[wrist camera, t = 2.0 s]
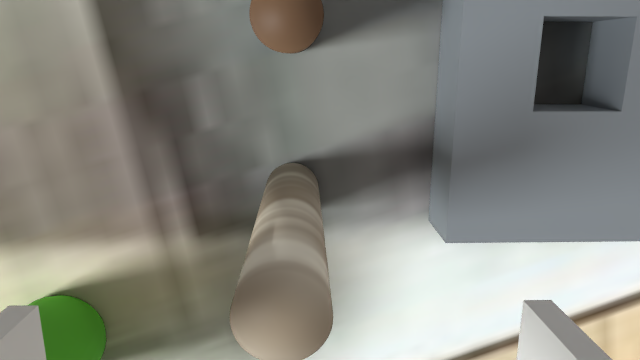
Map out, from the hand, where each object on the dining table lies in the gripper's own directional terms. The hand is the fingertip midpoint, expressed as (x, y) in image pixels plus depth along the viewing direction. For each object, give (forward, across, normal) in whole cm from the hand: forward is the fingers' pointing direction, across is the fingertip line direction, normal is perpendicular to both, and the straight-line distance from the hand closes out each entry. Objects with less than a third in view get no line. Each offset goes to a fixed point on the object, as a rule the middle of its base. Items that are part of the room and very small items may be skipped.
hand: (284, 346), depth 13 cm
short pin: (+15, 0, +10) cm, 18 cm away
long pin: (+15, 0, 0) cm, 15 cm away
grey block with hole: (+15, +14, +8) cm, 22 cm away
